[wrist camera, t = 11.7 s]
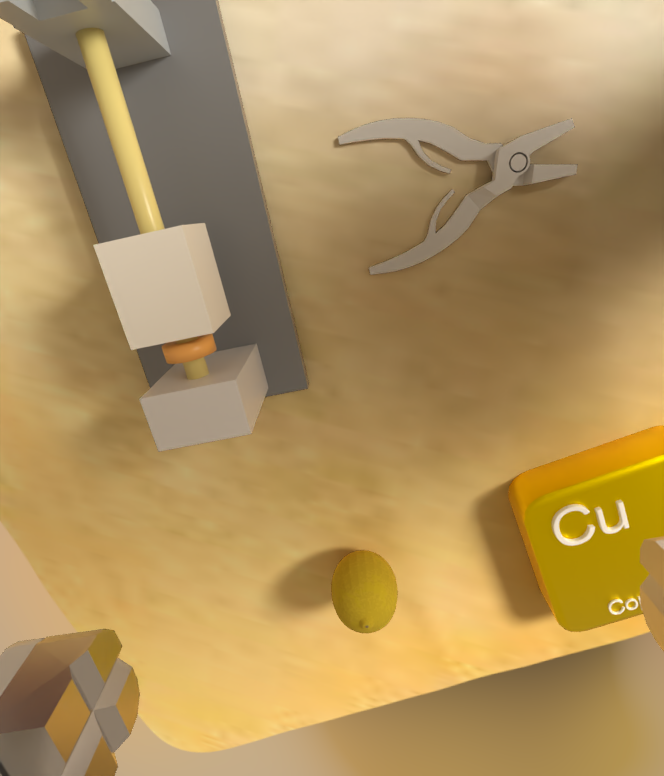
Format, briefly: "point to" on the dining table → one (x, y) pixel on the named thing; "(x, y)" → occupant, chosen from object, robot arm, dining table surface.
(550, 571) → the element tile
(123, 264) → the sleeve
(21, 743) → the robot arm
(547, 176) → the pliers
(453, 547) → the dining table surface
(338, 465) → the dining table surface
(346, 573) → the lemon
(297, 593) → the dining table surface
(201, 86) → the cord rig
